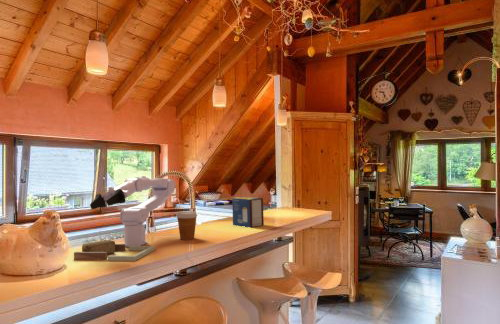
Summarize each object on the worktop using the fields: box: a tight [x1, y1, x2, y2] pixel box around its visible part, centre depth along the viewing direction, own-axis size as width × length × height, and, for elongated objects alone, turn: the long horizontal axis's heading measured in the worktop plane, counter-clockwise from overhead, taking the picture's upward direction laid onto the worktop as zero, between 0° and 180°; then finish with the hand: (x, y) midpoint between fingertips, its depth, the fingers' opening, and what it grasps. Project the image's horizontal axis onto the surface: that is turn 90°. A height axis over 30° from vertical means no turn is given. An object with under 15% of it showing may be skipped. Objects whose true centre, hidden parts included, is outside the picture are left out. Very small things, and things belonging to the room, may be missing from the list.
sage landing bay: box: [107, 245, 156, 262], centre depth 135 cm, size 17×10×2 cm, turn 173°
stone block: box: [81, 239, 116, 255], centre depth 137 cm, size 6×12×5 cm, turn 136°
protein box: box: [231, 196, 265, 228], centre depth 202 cm, size 10×15×16 cm
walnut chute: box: [73, 243, 126, 261], centre depth 136 cm, size 15×12×2 cm
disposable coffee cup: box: [176, 211, 198, 241], centre depth 165 cm, size 10×10×12 cm
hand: (99, 204), depth 133 cm, fingers open, 7 cm apart
